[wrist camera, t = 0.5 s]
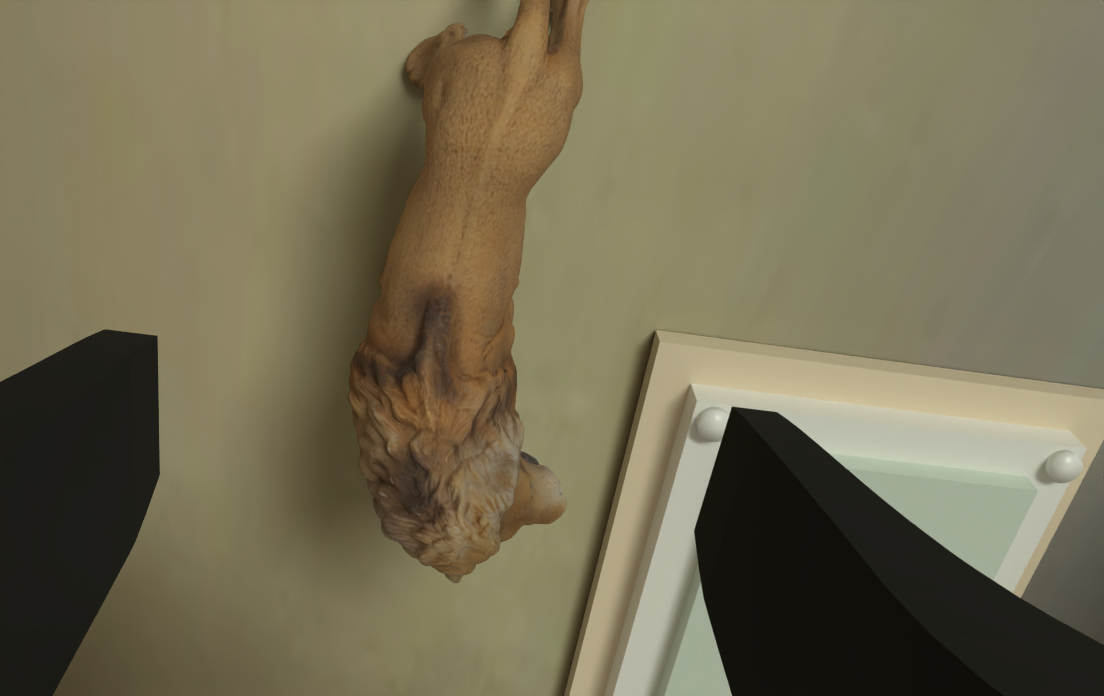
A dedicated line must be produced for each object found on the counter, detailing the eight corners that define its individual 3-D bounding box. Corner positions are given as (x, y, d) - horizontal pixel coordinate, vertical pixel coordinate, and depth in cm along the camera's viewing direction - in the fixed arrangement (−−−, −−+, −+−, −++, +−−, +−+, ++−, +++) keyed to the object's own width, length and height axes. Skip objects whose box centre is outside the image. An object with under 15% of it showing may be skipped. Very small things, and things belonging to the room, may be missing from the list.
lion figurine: (547, 406, 24) (568, 615, 18) (372, 398, 24) (329, 609, 17) (601, -122, 19) (661, -94, 12) (374, -144, 18) (311, -128, 12)
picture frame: (1109, 390, 25) (1156, 433, 23) (879, 838, 33) (901, 895, 31) (656, 330, 23) (669, 370, 22) (533, 817, 32) (535, 875, 30)
